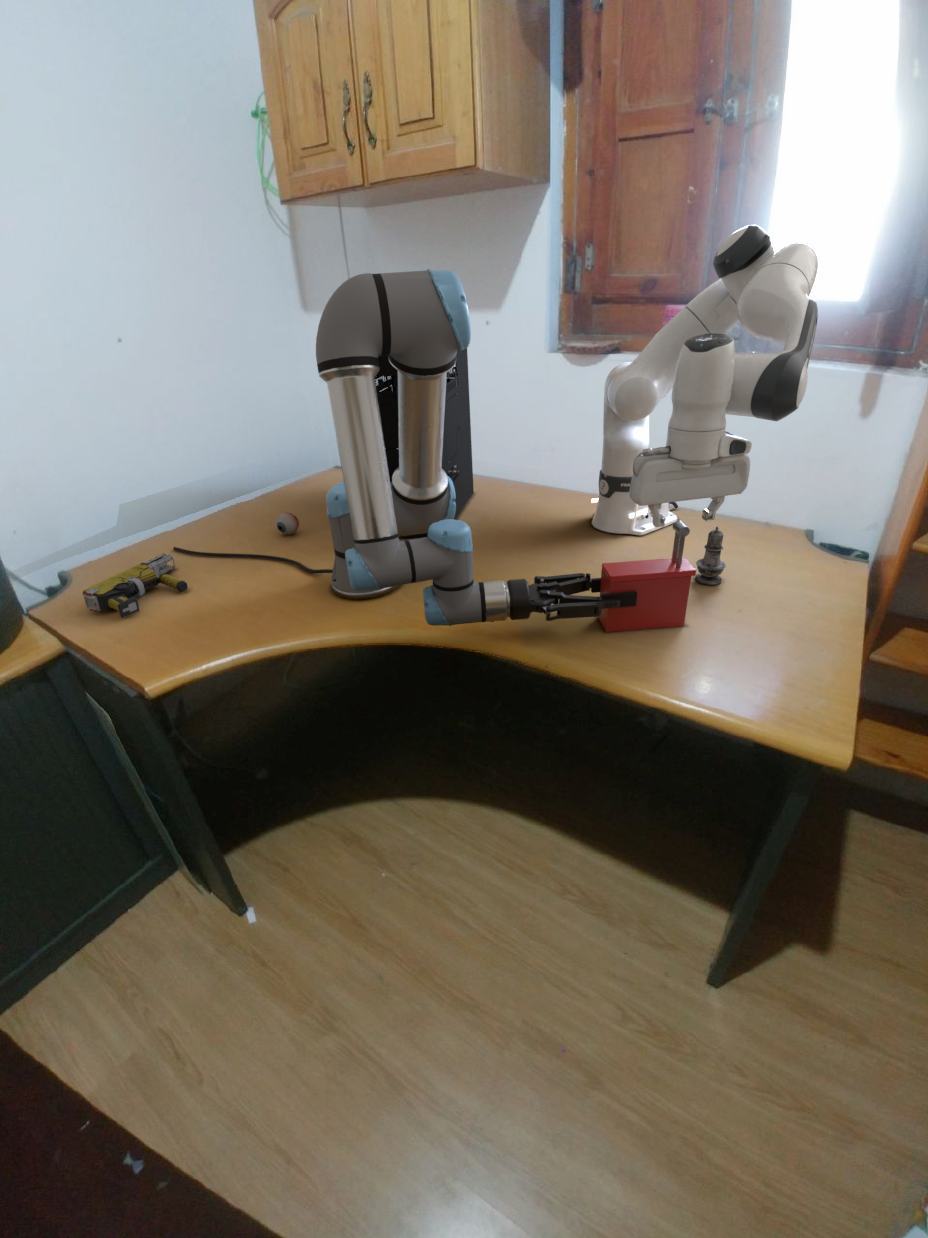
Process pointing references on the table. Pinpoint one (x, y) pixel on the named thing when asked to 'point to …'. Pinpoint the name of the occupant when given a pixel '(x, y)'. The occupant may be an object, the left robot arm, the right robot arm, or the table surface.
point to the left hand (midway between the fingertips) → (630, 590)
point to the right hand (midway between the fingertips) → (683, 522)
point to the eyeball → (287, 523)
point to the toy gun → (131, 586)
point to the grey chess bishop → (711, 560)
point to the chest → (647, 603)
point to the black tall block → (455, 426)
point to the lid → (654, 563)
